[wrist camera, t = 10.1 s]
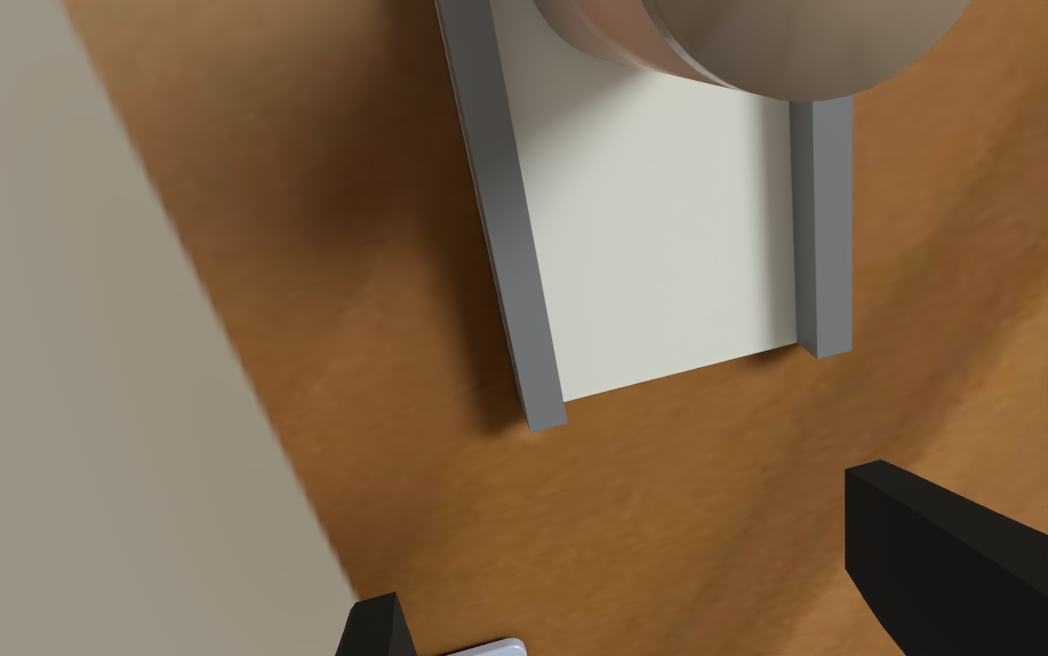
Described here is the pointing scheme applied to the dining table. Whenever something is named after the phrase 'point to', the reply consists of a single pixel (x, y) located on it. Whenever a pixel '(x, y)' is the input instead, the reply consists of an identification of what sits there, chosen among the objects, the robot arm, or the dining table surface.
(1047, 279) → the dining table surface
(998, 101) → the dining table surface
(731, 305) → the pusher lane
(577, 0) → the terracotta jar
